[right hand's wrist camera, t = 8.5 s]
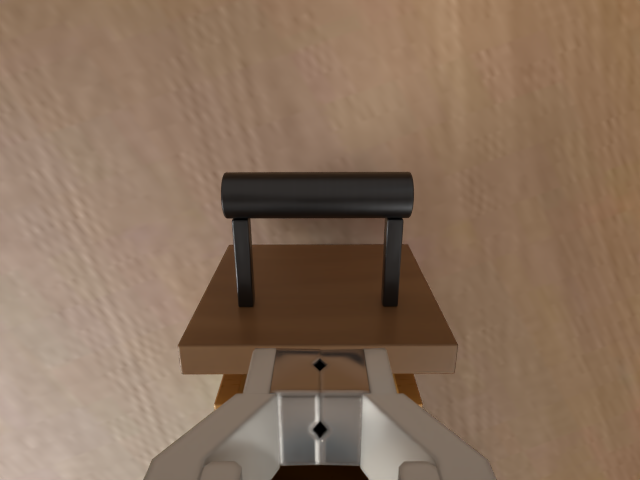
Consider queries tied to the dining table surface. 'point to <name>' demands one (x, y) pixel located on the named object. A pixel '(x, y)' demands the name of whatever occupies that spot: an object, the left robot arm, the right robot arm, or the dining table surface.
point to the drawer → (317, 289)
